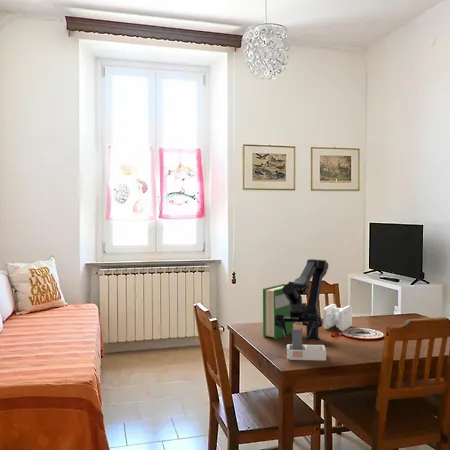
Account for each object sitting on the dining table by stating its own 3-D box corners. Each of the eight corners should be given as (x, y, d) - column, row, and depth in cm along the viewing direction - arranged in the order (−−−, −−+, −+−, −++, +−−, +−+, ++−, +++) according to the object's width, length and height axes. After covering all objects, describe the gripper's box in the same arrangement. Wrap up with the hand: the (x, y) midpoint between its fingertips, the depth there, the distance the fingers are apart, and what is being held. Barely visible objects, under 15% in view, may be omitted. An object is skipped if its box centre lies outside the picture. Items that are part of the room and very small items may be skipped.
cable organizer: (334, 324, 258) (334, 302, 257) (353, 326, 251) (353, 304, 251) (323, 330, 245) (323, 307, 245) (342, 333, 239) (342, 310, 239)
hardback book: (275, 339, 228) (275, 290, 228) (263, 336, 233) (262, 288, 232) (295, 332, 242) (295, 285, 241) (283, 329, 247) (282, 283, 246)
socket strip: (286, 353, 207) (286, 344, 207) (324, 354, 205) (324, 345, 205) (287, 359, 198) (287, 350, 198) (326, 360, 196) (326, 351, 196)
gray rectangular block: (292, 352, 204) (292, 323, 204) (301, 352, 204) (301, 323, 203) (292, 355, 200) (292, 325, 200) (302, 355, 200) (302, 325, 199)
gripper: (274, 296, 206) (274, 327, 196) (318, 296, 204) (320, 328, 194) (274, 309, 214) (275, 340, 204) (316, 310, 212) (319, 341, 202)
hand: (297, 337), depth 200 cm, fingers open, 9 cm apart
